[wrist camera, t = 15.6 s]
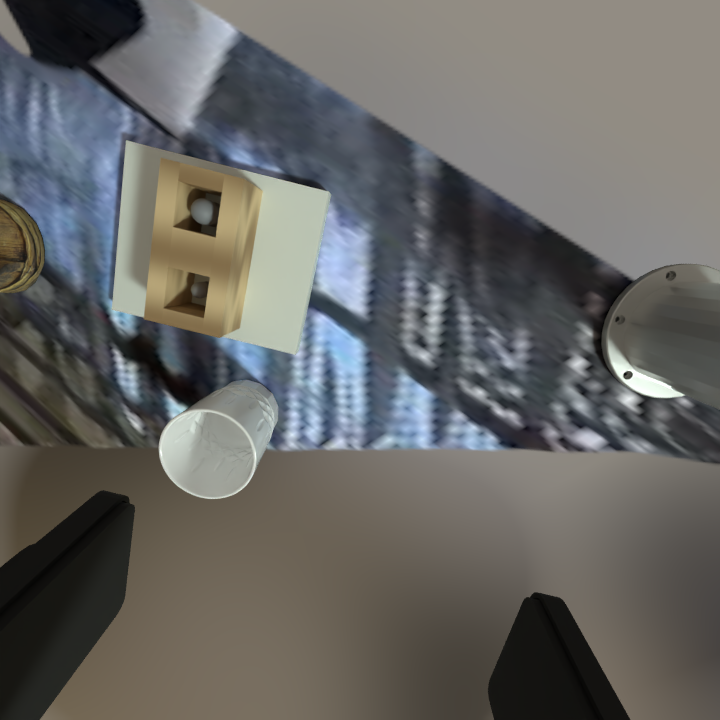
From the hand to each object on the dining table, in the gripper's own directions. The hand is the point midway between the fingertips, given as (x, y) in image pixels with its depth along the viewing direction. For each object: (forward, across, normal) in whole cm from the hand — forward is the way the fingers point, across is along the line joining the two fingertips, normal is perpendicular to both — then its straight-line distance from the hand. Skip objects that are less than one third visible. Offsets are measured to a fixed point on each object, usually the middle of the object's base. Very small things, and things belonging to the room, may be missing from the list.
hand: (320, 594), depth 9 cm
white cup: (+31, +10, +10) cm, 34 cm away
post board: (+30, +15, -5) cm, 34 cm away
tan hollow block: (+29, +15, -5) cm, 33 cm away
